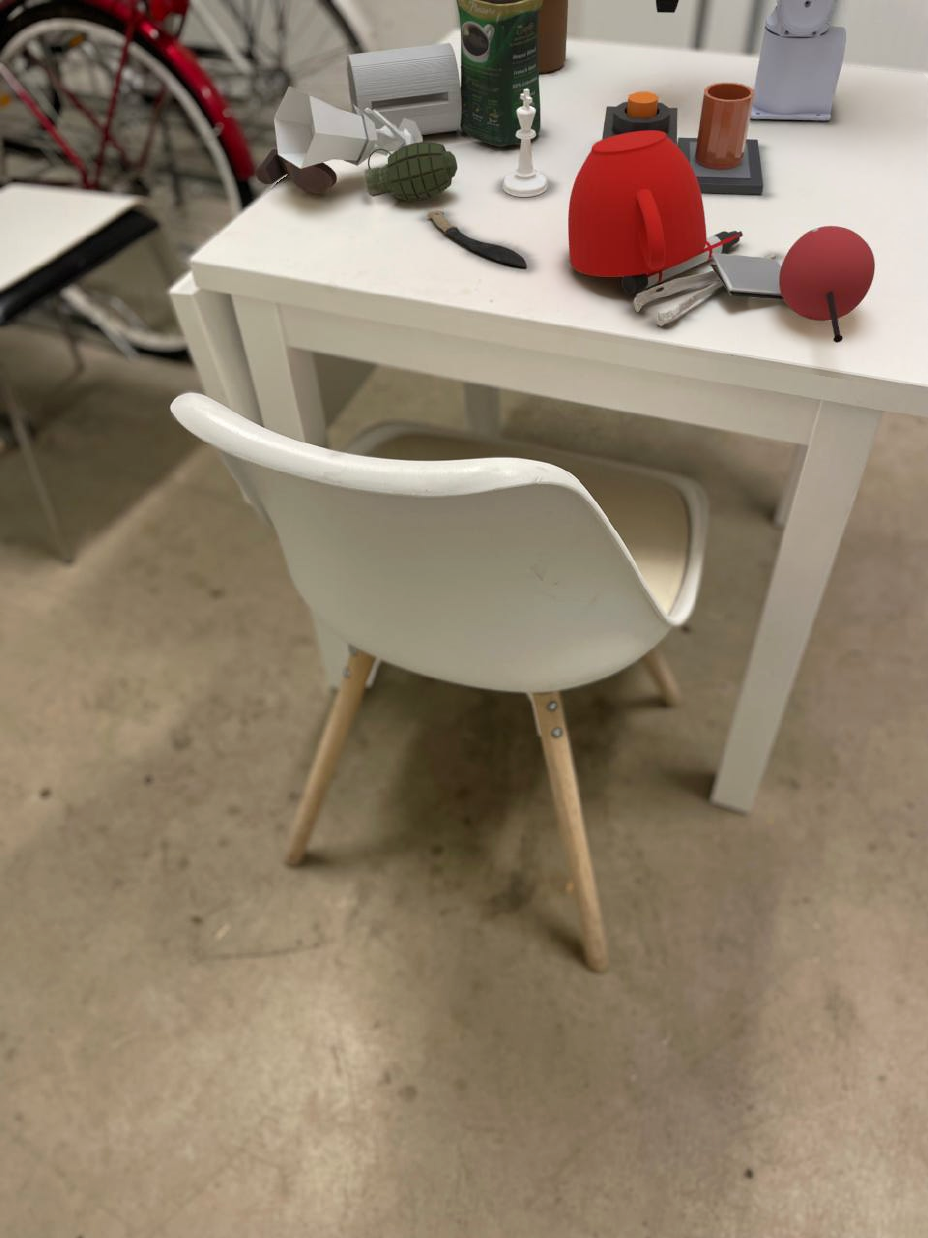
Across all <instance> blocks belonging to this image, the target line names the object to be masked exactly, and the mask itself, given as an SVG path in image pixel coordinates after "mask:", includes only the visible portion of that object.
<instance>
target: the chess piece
mask: <svg viewBox="0 0 928 1238" xmlns="http://www.w3.org/2000/svg"><path fill="white" fill-rule="evenodd" d="M520 99H522V100H523V106H522V107H519V108H518V109H517V116H518V119H519V123H520V126H521V129H520V130H518V131H517V132H516V137H517V138H519V139H521V144H520V150H519V157H518V166H517V169H515V170H514V172H512V173H510V174H508V175H507V176H506V177H504V179H503V185H502V189H503V191H504V192H505V193H506V194H508V195H510V196H514V197H519V198H520V197H521V198H530V197H535V196H539V195H542V194H543V193H545V192H546V191H547V190H548V179H547V177H546V176H545V175H544V174H542V173H540V172H538V171H537V170H536V169H535V168H534V164H533V156H532V155H533V154H532V144H531V140H532V139H534V138H535V137H536V136H537V135H536V133H535V131H534V130H532V129H531V126H532V122H533V119H534V116H535V113H536V110H535V108H534V107H531V106H529V104H530V103H532V98H531V97H529V89H524V93H523V94H521V96H520ZM531 138H532V139H531ZM530 139H531V140H530Z"/></svg>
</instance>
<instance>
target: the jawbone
mask: <svg viewBox="0 0 928 1238" xmlns="http://www.w3.org/2000/svg"><path fill="white" fill-rule="evenodd" d="M777 256H778V254H777V253H775V252H774V253H771V254H769V255H767V256H764V257H762V258H771V259H775V257H777ZM711 283H712V284H711ZM707 284H710V285H709V286H707V287H705V288H704V289H701V290H699V291H697V292H695V293H693V294H692V295H690V296H689V297H687V298H685V299H684V300H683V301H681V302H680V303H679V304H678V306H677V307H676V308H675V309H672V310H668V311H667V312H663V313H662V312H657V313H656V314H657V319H656V324H657V325H658V326H660V327H662V326H664V325H665V324H667V323H669V322H670V321H672V320H673V319H675V318H676V317H678V316H679V315H680V314H682V313H683V312H684V311H686V310H688V309H689V308H690V307H692V306H693V305H694V304H696V303H697V302H699V301H700V300H702V299H703V298H705V297H706V296H709V295H710V294H711V293H713V292H715V291H716V290H718V289H719V288H721V287H722V286H724V285H723V283H722V282H721V280H720V279H719V277H718V276H717V274H716V273H715V271H714V270H710V271H705V272H700V273H697V274H691V275H688V276H682V277H677V278H674V279H671V280H669V281H667V282H664V283H662V284H659V285H655V286H651V287H650V288H649V289H643V290H642V291H640V292H637V294H636V296H635V297H634V299H633V302H632V303H633V306H634V307H633V308H634V310H635V311H636V313H639V312H640V310H641V309H642V307H643V306H644V305H645V304H647V303H649V302H652V301H654V300H657V299H659V298H660V299H661V298H664V297H668V296H671V295H674V294H676V293H679V292H682V291H685V290H688V289H692V288H696V287H698V286H699V287H700V286H703V285H707ZM661 288H663V289H662V290H660V291H657V290H658V289H661Z"/></svg>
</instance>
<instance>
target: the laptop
mask: <svg viewBox="0 0 928 1238" xmlns="http://www.w3.org/2000/svg"><path fill="white" fill-rule="evenodd" d="M711 256H712V258H713V259H712V260H713V262H714V263H713V264H710V267H711V268H712V271H715V273H716V274H717V276H718V277H719V279H720V280H721V282H722V283H723V286H724V288H725V289H726V290H727V293H728V294H729V296H732V297H742V298H743V297H744V298H756V299H757V298H758V299H767V300H768V299H769V300H779V301H780V300H781V301H784V299H783V297H782V295H781V291H780V286H779V276H780V270H781V266H782V264H781V263H780V260H778V259H777V258H772V259H771V258H763V257H760V256H749V255H741V254H740V255H739V254H730V253H723V254H720V253H712V255H711Z"/></svg>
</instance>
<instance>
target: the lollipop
mask: <svg viewBox="0 0 928 1238" xmlns="http://www.w3.org/2000/svg"><path fill="white" fill-rule="evenodd" d="M875 269H876V262H875V256H874V253H873V250H872V248H871V247H870V245H869V244H868V242H867V241H866V239H864V238H863V237H862V236H861V235H860V234H859V233H857V232H855V231H853V230H852V229H849V228H846V227H842V226H839V225H838V226H836V225H825V226H820V227H816V228H813V229H810V230H809V231H807V232H805V233H804V234H802V236H800V237H799V238H798V239H797V240H796V241H795V242H794V243H793V244H792V245H791V246H790V248H789V249H788V251H787V253H786V254H785V256H784V259H783V260H782V264H781V270H780V276H779V286H780V291H781V295H782V297H783V299H784V300H783V301H784V302H785V304H786V305H787V307H788V308H790V309H791V310H792V311H793V312H795V313H796V314H797V315H798V316H801V317H803V318H805V319H807V320H810V321H817V322H829V321H831V327H832V331H833V339H832V340H833V342H834V343H835V344H836V343H837V344H838V343H841V342H842V341H843V338H844V337H843V336H842V334H841V330H840V329H841V328H840V324H839V319H840V318H843V317H845V316H846V315H848V314H850V313H852V312H853V311H854V310H855V309H856V308H857V307H859V305H860V304H861V302H863V300H864V299H865V298H866V296H867V295H868V292H869V290H870V289H871V286H872V283H873V280H874V277H875Z"/></svg>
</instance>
